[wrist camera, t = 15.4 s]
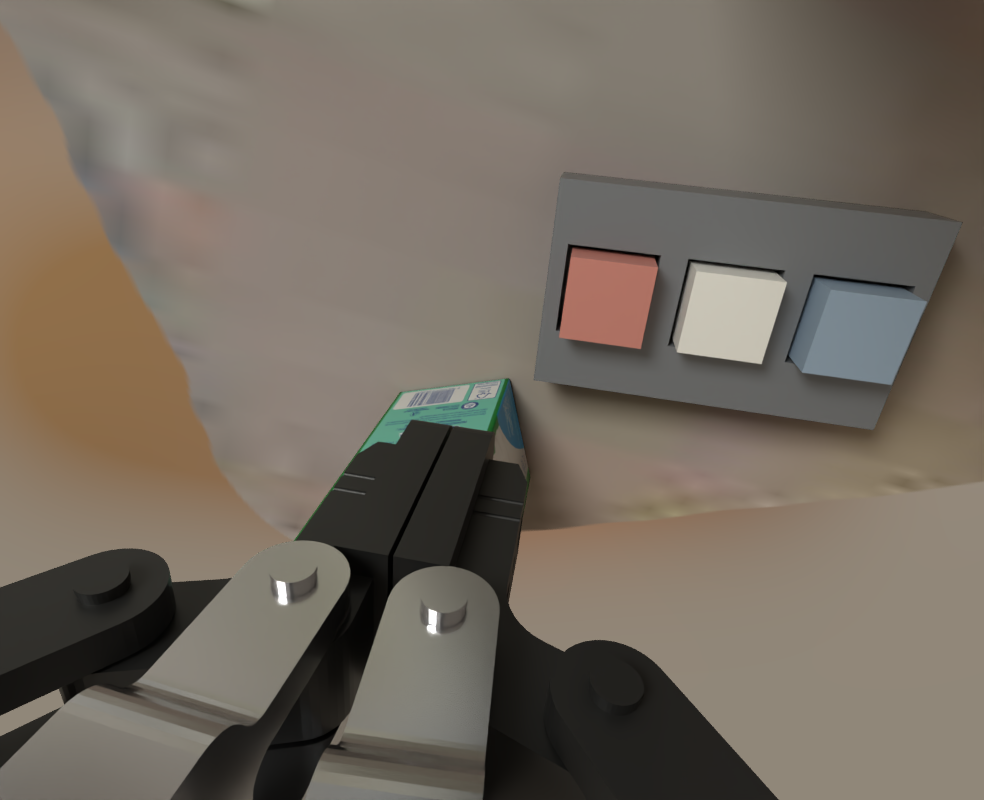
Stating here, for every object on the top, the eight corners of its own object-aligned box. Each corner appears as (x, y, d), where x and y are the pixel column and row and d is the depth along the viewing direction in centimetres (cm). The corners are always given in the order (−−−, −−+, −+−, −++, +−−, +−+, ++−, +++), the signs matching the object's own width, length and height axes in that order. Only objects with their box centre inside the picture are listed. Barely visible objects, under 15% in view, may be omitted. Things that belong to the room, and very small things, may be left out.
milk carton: (530, 477, 49) (473, 784, 26) (427, 487, 51) (292, 778, 28) (509, 377, 45) (422, 633, 23) (399, 391, 47) (220, 639, 25)
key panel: (563, 172, 38) (560, 178, 35) (926, 211, 36) (962, 222, 32) (538, 358, 44) (533, 380, 40) (850, 403, 42) (873, 430, 38)
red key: (572, 246, 37) (570, 256, 34) (653, 256, 37) (658, 267, 34) (561, 322, 39) (559, 337, 37) (637, 332, 39) (640, 349, 36)
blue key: (813, 276, 35) (830, 289, 33) (902, 287, 35) (927, 301, 32) (787, 354, 38) (802, 372, 35) (870, 365, 37) (891, 384, 34)
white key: (689, 259, 37) (696, 271, 34) (773, 270, 36) (787, 282, 33) (671, 335, 39) (676, 352, 36) (750, 346, 38) (761, 364, 36)
